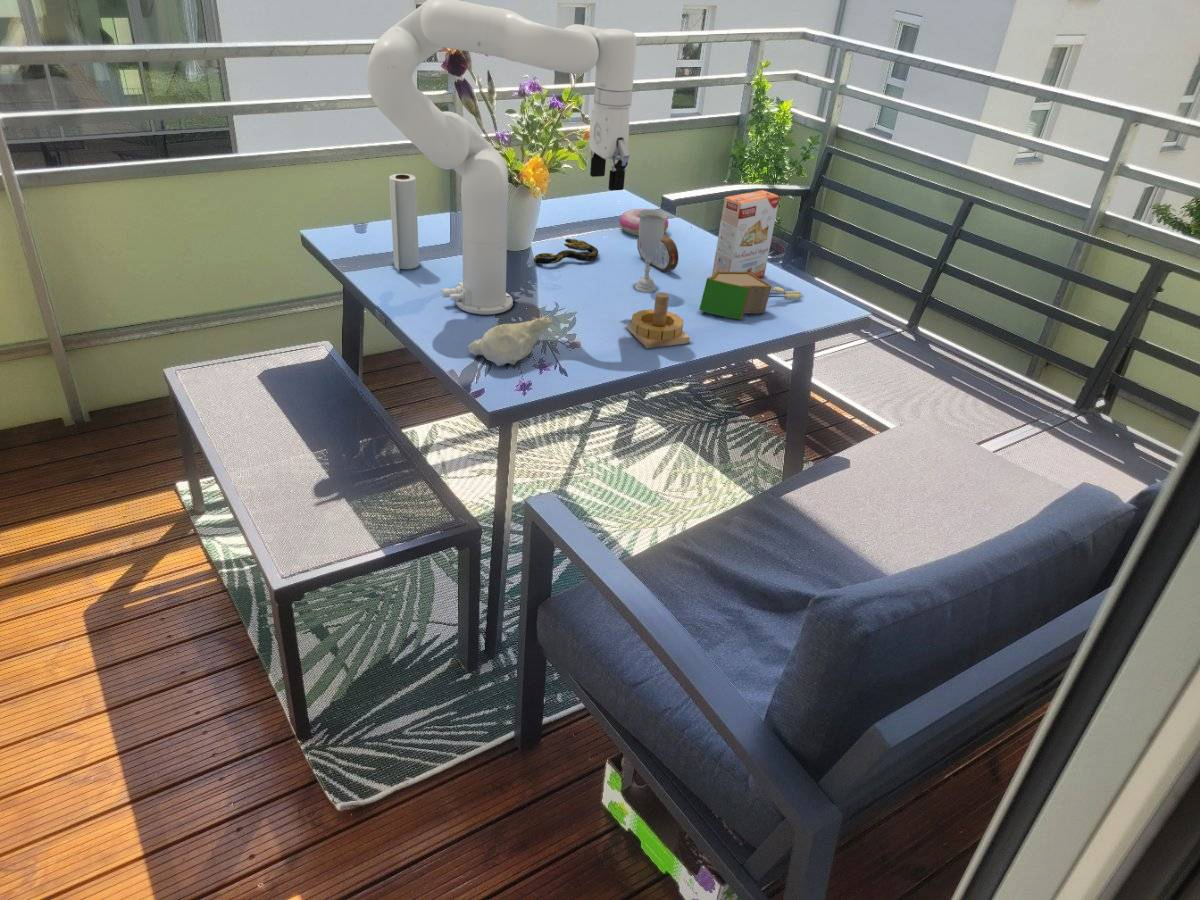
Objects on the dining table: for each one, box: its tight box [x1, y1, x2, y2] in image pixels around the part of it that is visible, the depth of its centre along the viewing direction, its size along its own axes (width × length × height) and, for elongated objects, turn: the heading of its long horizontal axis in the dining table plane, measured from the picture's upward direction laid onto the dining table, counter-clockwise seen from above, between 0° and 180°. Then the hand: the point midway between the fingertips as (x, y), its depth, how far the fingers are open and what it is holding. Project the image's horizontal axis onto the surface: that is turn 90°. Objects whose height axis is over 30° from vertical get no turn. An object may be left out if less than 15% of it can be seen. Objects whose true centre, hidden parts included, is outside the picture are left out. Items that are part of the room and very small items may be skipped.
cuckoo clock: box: [699, 270, 802, 321], centre depth 212 cm, size 12×8×30 cm
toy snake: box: [533, 238, 599, 265], centre depth 229 cm, size 18×5×10 cm
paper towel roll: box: [388, 173, 420, 272], centre depth 212 cm, size 7×6×21 cm
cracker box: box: [711, 189, 781, 279], centre depth 221 cm, size 14×6×21 cm, turn 129°
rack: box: [626, 291, 691, 349], centre depth 193 cm, size 10×10×10 cm
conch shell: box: [468, 316, 554, 367], centre depth 179 cm, size 15×7×15 cm
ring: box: [630, 308, 684, 340], centre depth 194 cm, size 11×11×2 cm
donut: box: [619, 208, 669, 237], centre depth 251 cm, size 14×13×5 cm
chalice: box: [634, 208, 669, 293], centre depth 213 cm, size 7×7×18 cm
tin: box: [636, 234, 679, 272], centre depth 228 cm, size 15×3×8 cm, turn 32°
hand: (606, 182), depth 190 cm, fingers open, 9 cm apart
